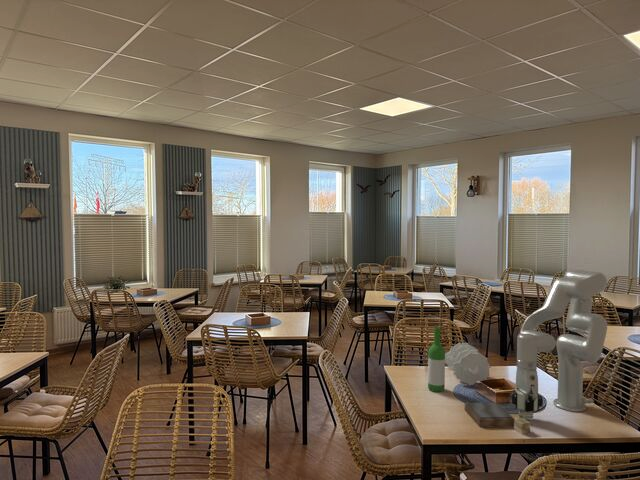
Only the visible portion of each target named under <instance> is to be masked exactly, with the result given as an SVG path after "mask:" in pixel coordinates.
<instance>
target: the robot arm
mask: <svg viewBox="0 0 640 480" xmlns="http://www.w3.org/2000/svg"><path fill="white" fill-rule="evenodd" d="M607 282H608V281H607V277H606V275H605V274H603V273H602V272H599V271H589V270H588V271H587V270H583V269H582V270H580V269H579V270H578V269H570V270H567V271H565V273H564V275H563V277H558V278H556V279H554V281H553V283H552V284H551V286H550V288H549V291H548V293H547V295H546V297H545V300H544V303H543V304H542V306H541V307H540V308H538V309H537V310H535V311H533V313H531V314H530V315H529V316H527V318H526V319H525V320H524V322H523V324H522V326H521V328H520V331H519V334H518V335H517V338H516V342H517V343H516V373H515V387H516V390H521V391H522V392H523V393H525V394H526V399H527V401H526V408H525V410H526V412H532V413H533V412H534V411H535V410H534V402H535V399H536V398H537V395H538V394H539V377H538V371H537V367H538V353H541V352H542V353H548V352H552V351H553V350H554V349H555V347H556V352H557V360H558V364H557V365H558V367H557V369H558V370H557V373H558V374H557V398H555V399H553V401H552V403H553V405H554V406H555V407H557V408H558V409H561V410H565V411H568V412H577V413H579V412H584V411H586V410H587V405H586V404H593V403H594V398H591V397H589V398H587V396H583V390H584V389H583V387H584V386H583V384H584V383H583V382H584V380H583V379H584V366H583V363H582V361H585V362H588V363H596V362H598V361H599V359H600V358H601V356H602V353H603V349H604V346H605V341H606V337H607V331H608V324H607V323H608V322H607V320H606V318H605V317H604V315H600V314H597V313H593V312H592V308H593V302H594V301H593V298H592V297H594V296H596V295H598V294H600V293H601V292H602V291H604V290H605V289H606V287H607V284H608V283H607ZM568 305H569V306H568ZM567 308H568V310H567V314H566V319H565V327H566V329H567V330H568V331H571V332H573V333H577V334H582V335H586V336H587V337H583V336H580V335H577V334H576V335H575V334H570V333H563V334H561V335H559V336H558V337H557V339H555V337H554V336H553V335H551V334H549V333H546V332H543V331H538V330H537V327H539V325H541V324H542V323H544V322H547V321H551V320H554V319H560V318H562V317H563V316H564V314H565V313H566V309H567ZM529 392H531V394H529ZM529 395H531V397H530V398H529Z"/></svg>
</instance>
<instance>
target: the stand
mask: <svg viewBox="0 0 640 480" xmlns="http://www.w3.org/2000/svg"><path fill="white" fill-rule="evenodd" d="M464 411H465V412H466V414H467V415H468V416H469V417H470V418H471V419H472V420H473V422H474V423H476V424H477V426H478V427H480V428H487V427H488V428H489V427H490V428H493V427H495V428H496V427H499V428H500V427H501V428H502V427H503V428H505V427H506V428H507V427H509V428H510V427H514V420H515V418H514V416H512V415H511V414H510V413H508V411H506V410H505V409H504V408H503V406H501V405H500V404H499V403H498V402H466V403H465V402H464Z"/></svg>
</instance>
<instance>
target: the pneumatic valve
mask: <svg viewBox="0 0 640 480" xmlns="http://www.w3.org/2000/svg"><path fill="white" fill-rule="evenodd" d="M529 394H531V392H529ZM530 397H531V395H529V398H530ZM526 401H527V399H526V394H525V393H523V392H522V391H521V390H517V389H513V390H512V392H511V393H509V403H510V405H512V406H513V407H514V409H515V410H519V411H518V412H517V416H518V417H519V418H520V419H522V418H523V419H525V420H526V421H528V422H530V421H532V420H533V419H534V413H533V412H526V410H525V408H526ZM543 404H544V399H543V396H542V395H540V394H539V393H538V395H537V398H536V399H535V402H534V411H538V412H539V411H540V408H542V407H543Z"/></svg>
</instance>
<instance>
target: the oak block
mask: <svg viewBox="0 0 640 480" xmlns="http://www.w3.org/2000/svg"><path fill="white" fill-rule="evenodd" d="M514 419H515V418H514ZM513 430H514V431H515V432H517V433H518V434H520V435H525V434H530V433H531V422H530V421H529V420H525V419H523V418H522V419H521V418H517V419H515V420H514V426H513Z"/></svg>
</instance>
